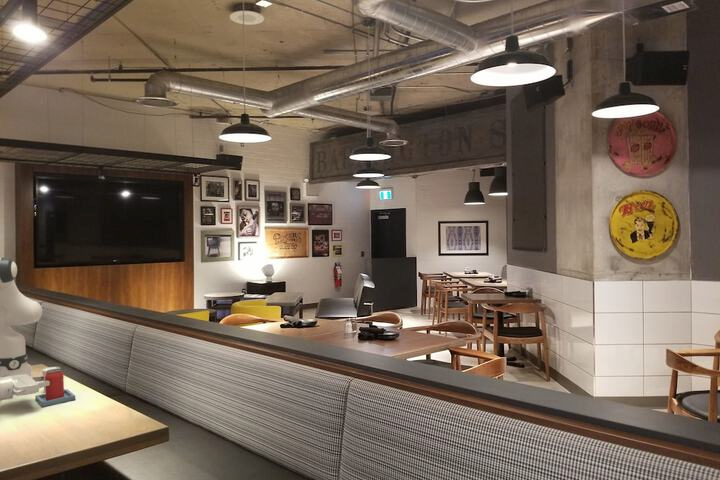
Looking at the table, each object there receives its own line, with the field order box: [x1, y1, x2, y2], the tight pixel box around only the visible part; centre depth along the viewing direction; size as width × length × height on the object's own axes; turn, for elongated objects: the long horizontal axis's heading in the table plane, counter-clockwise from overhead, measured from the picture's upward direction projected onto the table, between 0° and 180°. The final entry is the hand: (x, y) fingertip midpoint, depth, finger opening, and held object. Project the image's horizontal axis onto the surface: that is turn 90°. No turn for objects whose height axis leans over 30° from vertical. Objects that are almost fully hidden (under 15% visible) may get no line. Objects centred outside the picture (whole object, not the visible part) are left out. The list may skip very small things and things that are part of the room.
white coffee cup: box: [41, 366, 61, 394], centre depth 228 cm, size 7×7×10 cm
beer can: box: [45, 368, 65, 401], centre depth 216 cm, size 7×7×12 cm
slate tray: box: [34, 388, 76, 408], centre depth 216 cm, size 12×12×2 cm
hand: (46, 380), depth 214 cm, fingers open, 8 cm apart
